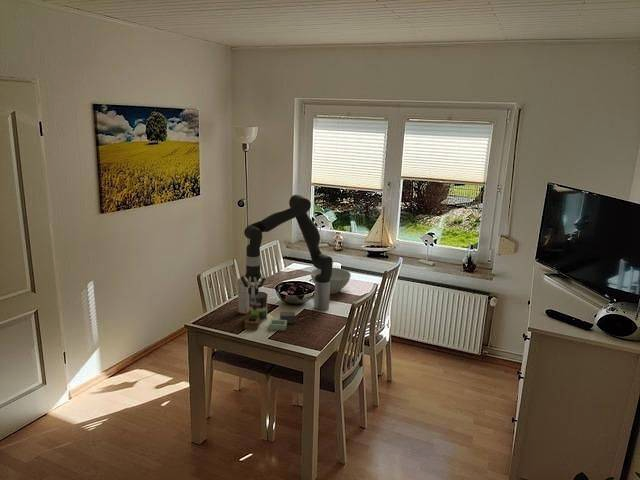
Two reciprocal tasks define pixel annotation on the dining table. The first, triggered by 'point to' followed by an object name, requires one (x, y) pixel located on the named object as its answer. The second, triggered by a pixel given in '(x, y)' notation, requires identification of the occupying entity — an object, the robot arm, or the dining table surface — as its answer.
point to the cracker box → (243, 297)
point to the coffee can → (258, 306)
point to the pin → (253, 293)
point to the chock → (288, 316)
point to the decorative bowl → (334, 278)
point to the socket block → (252, 323)
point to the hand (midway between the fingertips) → (253, 294)
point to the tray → (278, 325)
